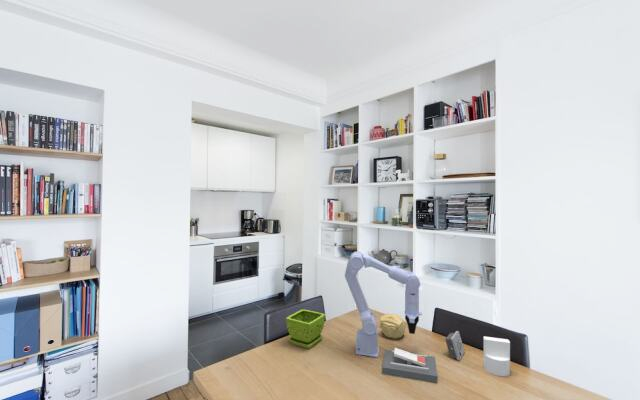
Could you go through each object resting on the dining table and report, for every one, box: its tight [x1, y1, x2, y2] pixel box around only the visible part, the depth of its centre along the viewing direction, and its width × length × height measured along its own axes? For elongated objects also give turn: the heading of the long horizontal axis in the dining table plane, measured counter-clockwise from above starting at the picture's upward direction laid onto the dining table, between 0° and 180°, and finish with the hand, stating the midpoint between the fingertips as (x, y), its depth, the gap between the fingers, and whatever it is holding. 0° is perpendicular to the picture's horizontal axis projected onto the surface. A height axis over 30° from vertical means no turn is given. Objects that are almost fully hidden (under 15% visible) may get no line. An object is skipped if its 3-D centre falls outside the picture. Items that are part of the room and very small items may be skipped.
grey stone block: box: [445, 330, 466, 362], centre depth 129 cm, size 9×5×9 cm, turn 141°
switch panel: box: [381, 349, 439, 384], centre depth 119 cm, size 20×14×5 cm
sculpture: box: [379, 313, 406, 340], centre depth 147 cm, size 11×12×11 cm
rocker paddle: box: [393, 347, 425, 367], centre depth 119 cm, size 12×5×1 cm, turn 73°
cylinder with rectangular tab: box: [483, 335, 511, 378], centre depth 118 cm, size 9×9×12 cm
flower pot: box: [285, 308, 326, 349], centre depth 140 cm, size 14×14×13 cm
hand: (411, 333), depth 129 cm, fingers closed
